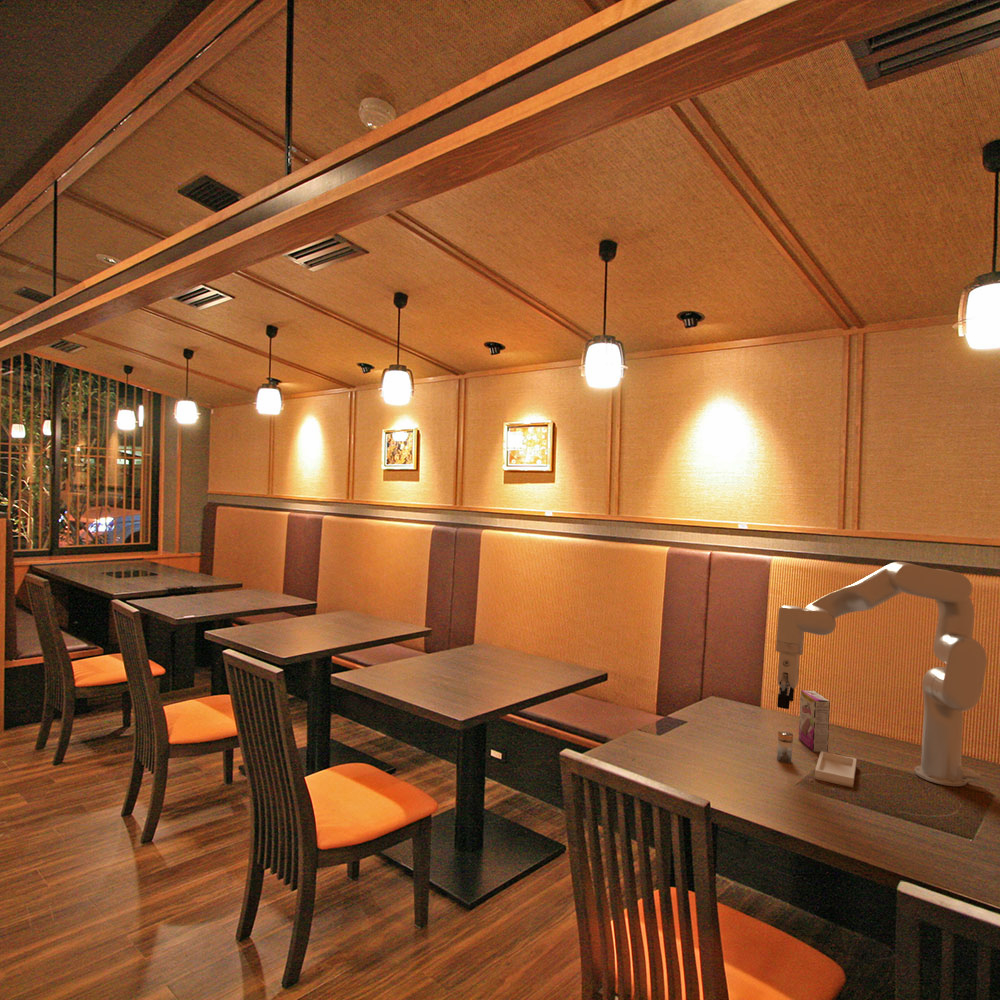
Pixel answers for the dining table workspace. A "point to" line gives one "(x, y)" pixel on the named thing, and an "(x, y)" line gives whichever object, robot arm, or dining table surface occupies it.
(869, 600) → the robot arm
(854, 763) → the white rectangular tray
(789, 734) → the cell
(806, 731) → the candy bar box
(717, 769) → the dining table surface
